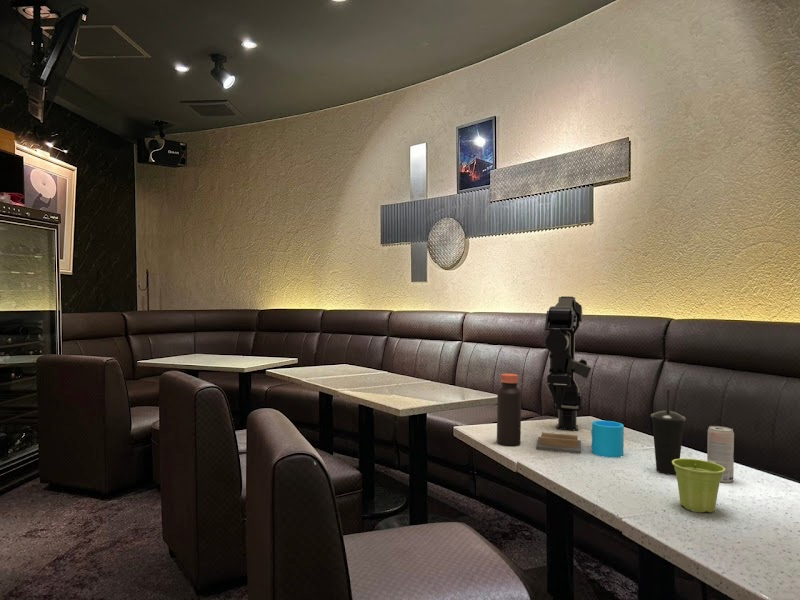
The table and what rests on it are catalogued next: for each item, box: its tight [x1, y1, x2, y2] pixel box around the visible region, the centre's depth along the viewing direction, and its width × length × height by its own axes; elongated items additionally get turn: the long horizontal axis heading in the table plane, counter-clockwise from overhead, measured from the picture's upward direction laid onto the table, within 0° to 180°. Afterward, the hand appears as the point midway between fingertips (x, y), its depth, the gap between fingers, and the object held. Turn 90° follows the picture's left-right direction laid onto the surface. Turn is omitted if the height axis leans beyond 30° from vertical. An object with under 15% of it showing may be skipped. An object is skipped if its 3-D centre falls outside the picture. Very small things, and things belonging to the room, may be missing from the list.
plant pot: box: [672, 458, 725, 513], centre depth 109 cm, size 9×9×9 cm
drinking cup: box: [650, 389, 686, 476], centre depth 133 cm, size 8×8×20 cm
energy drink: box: [706, 425, 735, 484], centre depth 127 cm, size 5×5×12 cm
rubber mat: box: [535, 436, 582, 455], centre depth 155 cm, size 12×12×1 cm
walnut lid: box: [540, 432, 579, 448], centre depth 155 cm, size 6×10×2 cm, turn 71°
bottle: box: [496, 373, 522, 447], centre depth 157 cm, size 7×7×20 cm
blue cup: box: [590, 420, 625, 458], centre depth 150 cm, size 12×8×8 cm
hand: (559, 405), depth 155 cm, fingers open, 9 cm apart
